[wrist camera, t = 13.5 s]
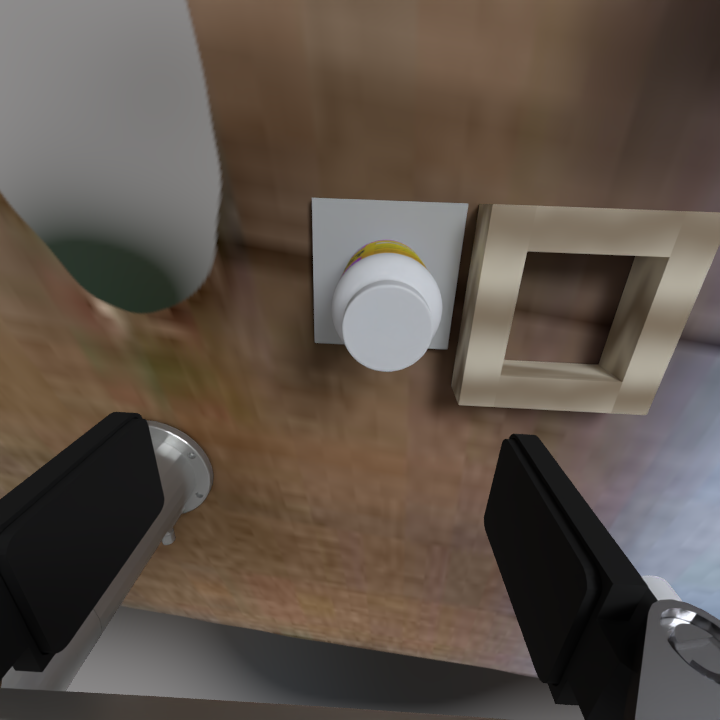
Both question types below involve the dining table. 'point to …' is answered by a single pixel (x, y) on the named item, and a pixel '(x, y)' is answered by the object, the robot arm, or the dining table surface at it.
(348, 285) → the supplement bottle
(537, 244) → the cup holder
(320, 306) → the grey mat
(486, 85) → the dining table surface
